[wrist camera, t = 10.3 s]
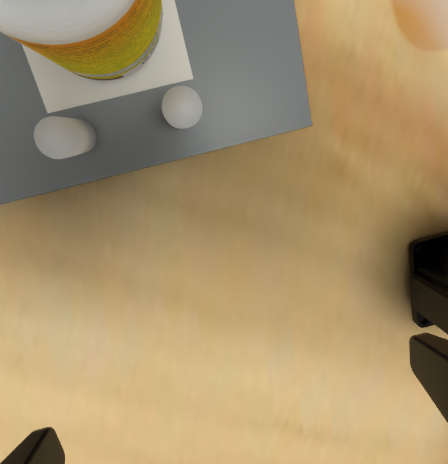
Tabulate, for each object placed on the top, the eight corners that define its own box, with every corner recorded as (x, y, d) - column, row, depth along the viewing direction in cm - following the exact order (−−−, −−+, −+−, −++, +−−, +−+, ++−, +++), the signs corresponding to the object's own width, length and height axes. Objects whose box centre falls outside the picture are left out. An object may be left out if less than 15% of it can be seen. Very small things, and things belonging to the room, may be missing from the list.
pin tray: (251, -199, 15) (288, -349, 10) (302, 126, 19) (343, 124, 15) (-175, -120, 14) (-353, -249, 9) (-20, 207, 18) (-88, 234, 14)
